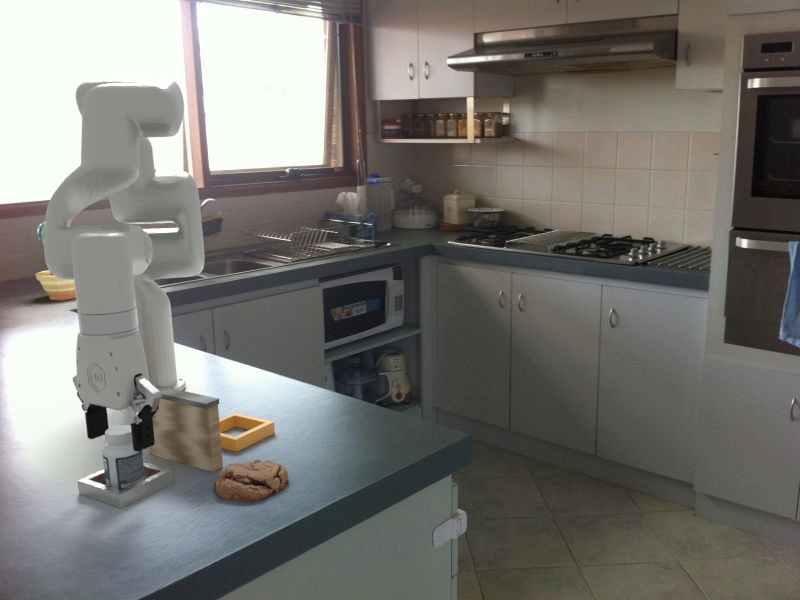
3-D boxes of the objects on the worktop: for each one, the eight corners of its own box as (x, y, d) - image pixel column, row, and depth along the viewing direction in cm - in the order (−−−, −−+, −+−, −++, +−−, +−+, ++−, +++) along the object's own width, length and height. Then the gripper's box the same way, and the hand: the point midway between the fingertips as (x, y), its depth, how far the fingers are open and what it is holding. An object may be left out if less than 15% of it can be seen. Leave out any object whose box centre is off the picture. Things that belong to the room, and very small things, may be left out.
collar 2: (196, 441, 130) (195, 429, 130) (235, 423, 137) (234, 412, 137) (236, 451, 125) (235, 439, 125) (274, 433, 133) (274, 421, 132)
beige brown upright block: (147, 454, 125) (141, 389, 123) (160, 449, 127) (154, 384, 125) (211, 473, 118) (206, 403, 115) (224, 467, 120) (219, 398, 117)
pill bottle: (153, 482, 115) (147, 424, 113) (131, 498, 110) (125, 438, 108) (121, 479, 117) (115, 421, 115) (99, 494, 112) (92, 435, 110)
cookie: (303, 483, 114) (302, 464, 113) (243, 511, 106) (241, 490, 106) (259, 466, 121) (258, 447, 120) (200, 490, 113) (198, 470, 112)
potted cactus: (81, 290, 261) (72, 213, 256) (97, 296, 249) (89, 216, 244) (31, 297, 251) (21, 218, 246) (46, 304, 240) (36, 221, 234)
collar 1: (79, 493, 112) (77, 480, 112) (131, 470, 119) (130, 457, 119) (121, 508, 107) (119, 494, 107) (172, 483, 115) (171, 470, 114)
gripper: (45, 322, 110) (59, 440, 113) (128, 334, 100) (140, 462, 104) (92, 311, 116) (103, 423, 119) (174, 322, 107) (184, 444, 110)
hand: (120, 441), depth 111 cm, fingers open, 9 cm apart
